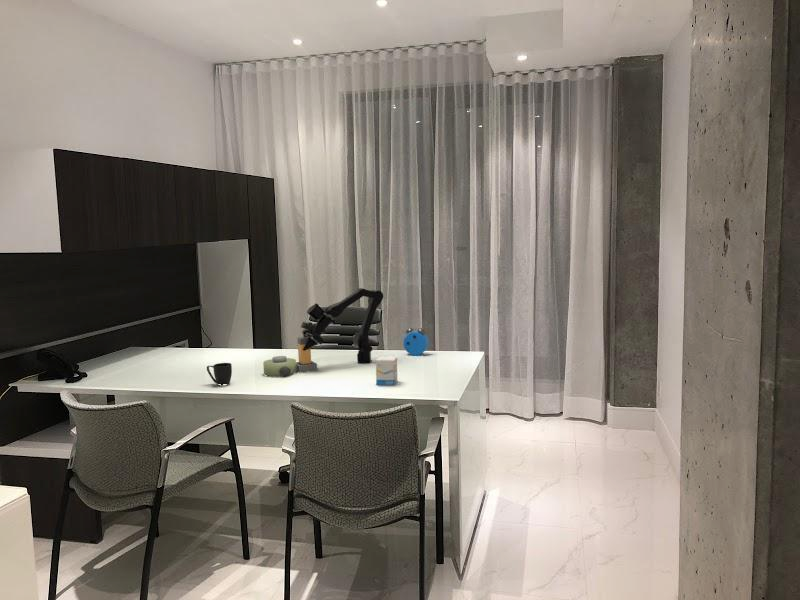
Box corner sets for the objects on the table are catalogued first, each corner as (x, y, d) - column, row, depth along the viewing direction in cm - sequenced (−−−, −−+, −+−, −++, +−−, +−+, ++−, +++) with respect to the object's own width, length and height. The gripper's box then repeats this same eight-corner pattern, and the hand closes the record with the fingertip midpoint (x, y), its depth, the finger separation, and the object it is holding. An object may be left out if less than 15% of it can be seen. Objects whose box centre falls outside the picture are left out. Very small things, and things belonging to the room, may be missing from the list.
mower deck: (308, 365, 342) (307, 350, 341) (320, 372, 324) (319, 356, 323) (259, 371, 330) (258, 355, 330) (269, 379, 313) (268, 362, 312)
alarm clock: (429, 353, 362) (428, 327, 360) (426, 356, 356) (425, 329, 354) (406, 353, 366) (405, 327, 364) (403, 355, 360) (402, 328, 358)
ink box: (394, 385, 293) (393, 360, 291) (376, 385, 294) (375, 359, 293) (398, 381, 301) (397, 356, 300) (380, 380, 303) (379, 356, 302)
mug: (213, 381, 311) (211, 362, 310) (235, 382, 308) (234, 362, 307) (203, 386, 303) (202, 366, 302) (227, 386, 300) (225, 366, 299)
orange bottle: (308, 361, 334) (306, 336, 332) (311, 363, 329) (310, 337, 328) (298, 362, 331) (297, 337, 330) (301, 364, 327) (300, 338, 325)
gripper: (304, 313, 338) (285, 337, 334) (316, 317, 321) (295, 342, 317) (319, 327, 342) (300, 350, 338) (331, 331, 325) (311, 356, 322)
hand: (301, 349), depth 329 cm, fingers closed on orange bottle, 5 cm apart
